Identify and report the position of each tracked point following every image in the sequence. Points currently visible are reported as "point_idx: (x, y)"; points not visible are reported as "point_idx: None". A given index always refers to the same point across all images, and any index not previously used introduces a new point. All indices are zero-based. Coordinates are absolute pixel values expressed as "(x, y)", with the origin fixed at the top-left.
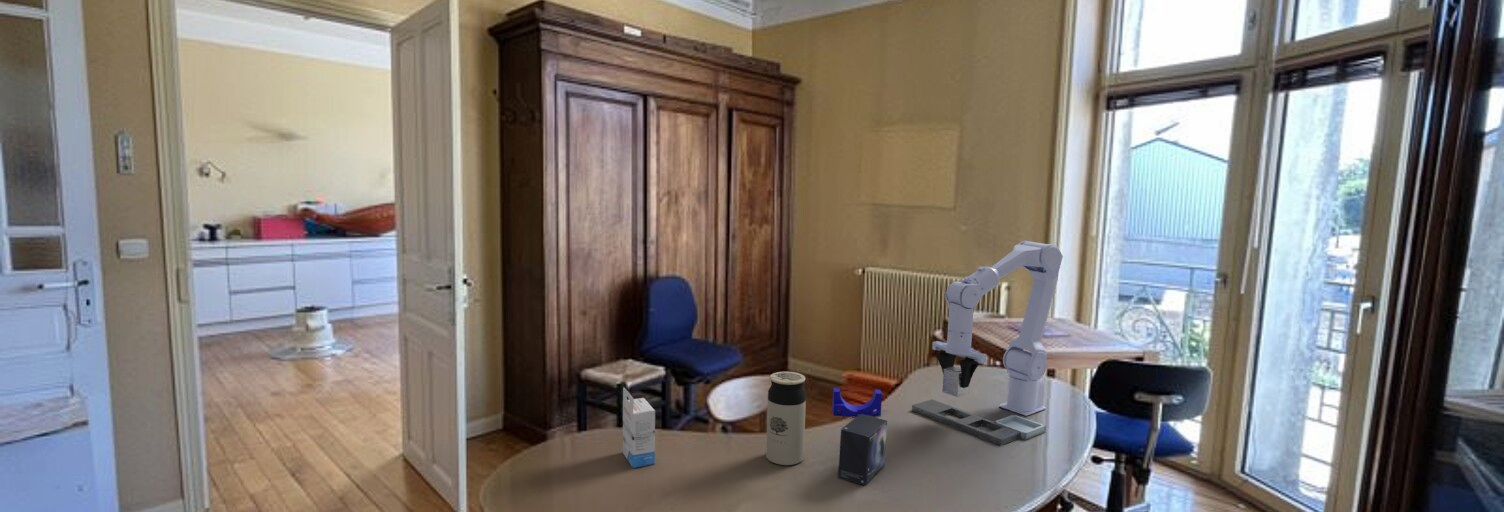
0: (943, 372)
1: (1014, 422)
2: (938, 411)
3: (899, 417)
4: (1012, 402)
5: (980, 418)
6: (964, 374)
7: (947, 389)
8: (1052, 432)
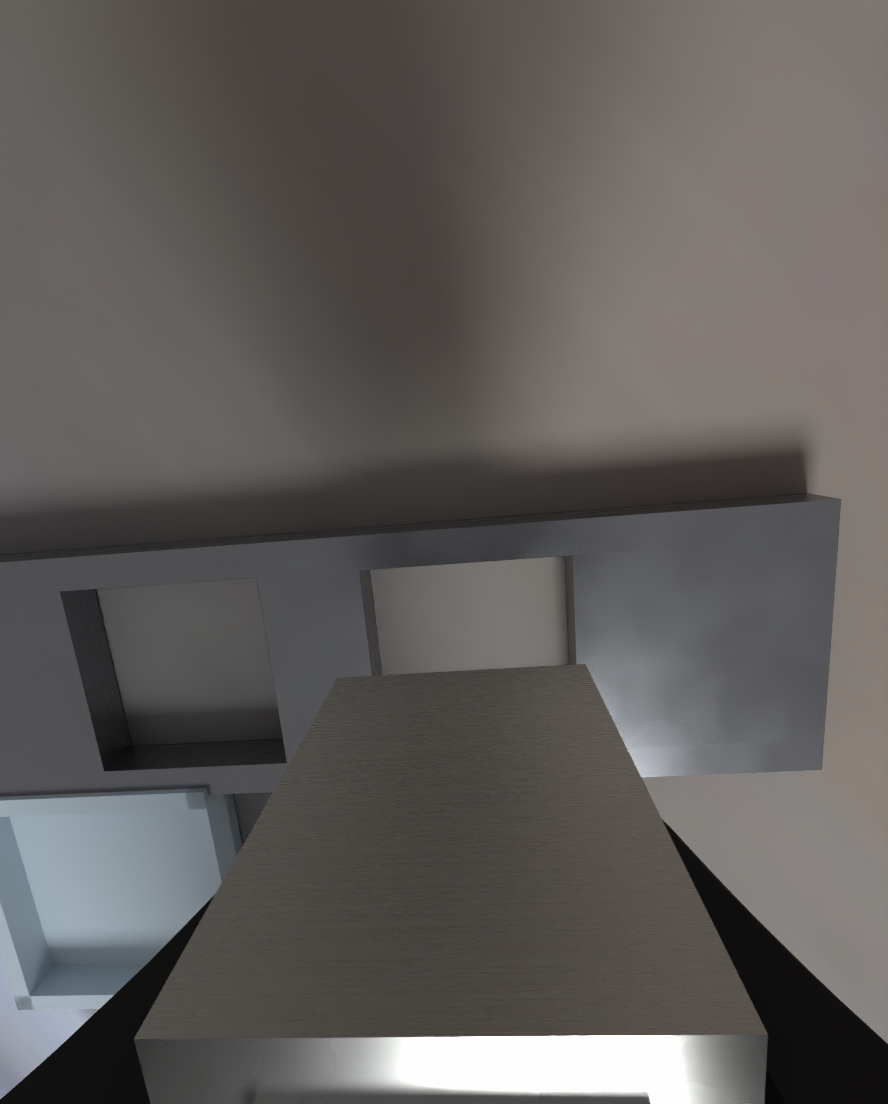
0: (765, 956)
1: None
2: (586, 594)
3: (761, 255)
4: None
5: None
6: (27, 1098)
7: (504, 696)
8: None
